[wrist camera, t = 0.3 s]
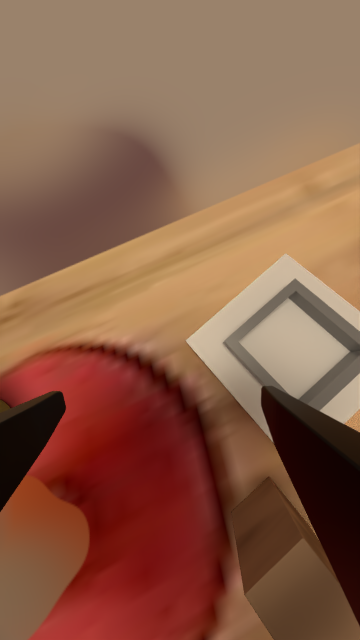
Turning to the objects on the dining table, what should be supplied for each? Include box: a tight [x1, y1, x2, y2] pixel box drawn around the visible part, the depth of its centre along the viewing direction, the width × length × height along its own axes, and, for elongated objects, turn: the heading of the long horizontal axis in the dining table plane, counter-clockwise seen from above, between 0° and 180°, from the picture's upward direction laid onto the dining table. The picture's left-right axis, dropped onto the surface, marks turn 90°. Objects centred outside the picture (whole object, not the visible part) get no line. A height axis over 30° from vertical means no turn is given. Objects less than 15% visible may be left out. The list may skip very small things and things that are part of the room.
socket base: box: [186, 253, 360, 443], centre depth 20 cm, size 16×16×3 cm
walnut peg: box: [231, 477, 360, 640], centre depth 15 cm, size 5×5×7 cm
